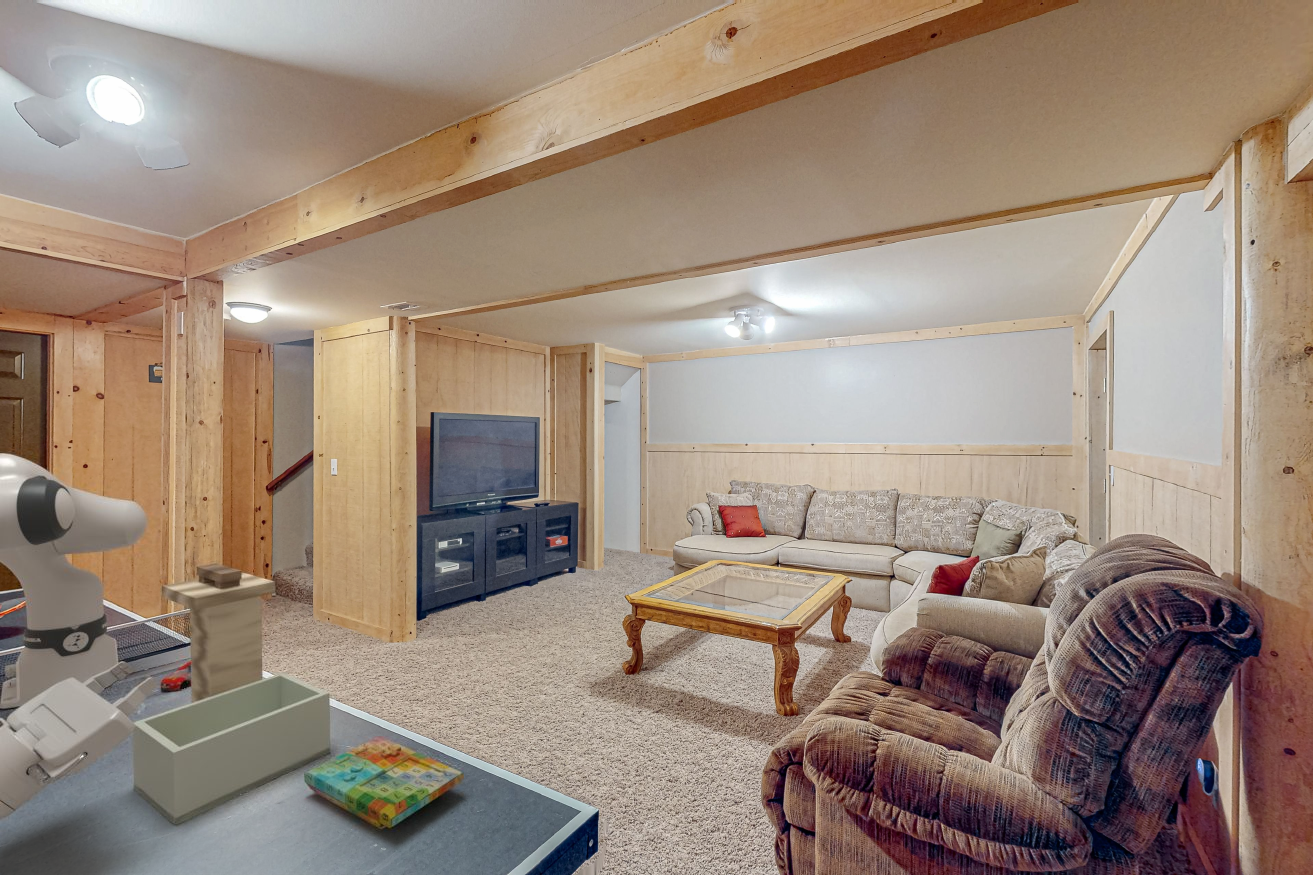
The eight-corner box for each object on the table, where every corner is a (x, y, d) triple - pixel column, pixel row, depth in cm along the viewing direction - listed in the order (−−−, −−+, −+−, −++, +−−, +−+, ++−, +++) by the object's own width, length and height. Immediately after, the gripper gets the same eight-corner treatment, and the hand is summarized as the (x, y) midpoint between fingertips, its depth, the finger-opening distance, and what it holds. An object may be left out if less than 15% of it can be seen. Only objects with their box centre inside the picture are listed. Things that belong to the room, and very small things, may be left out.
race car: (173, 695, 119) (172, 675, 119) (153, 692, 120) (152, 673, 120) (235, 668, 132) (234, 651, 132) (216, 666, 133) (215, 648, 133)
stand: (164, 731, 104) (161, 570, 104) (241, 704, 114) (238, 557, 114) (198, 755, 97) (195, 581, 96) (277, 723, 107) (274, 566, 106)
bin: (133, 788, 88) (132, 722, 88) (284, 727, 106) (283, 672, 105) (175, 825, 80) (173, 752, 80) (330, 752, 98) (329, 692, 97)
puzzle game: (377, 730, 96) (463, 766, 86) (377, 759, 96) (463, 798, 86) (304, 766, 86) (391, 811, 76) (304, 798, 86) (391, 847, 76)
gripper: (22, 773, 65) (155, 673, 75) (-22, 724, 76) (100, 642, 86) (62, 806, 68) (186, 705, 78) (15, 754, 79) (129, 671, 89)
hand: (141, 672), depth 82 cm, fingers open, 8 cm apart
